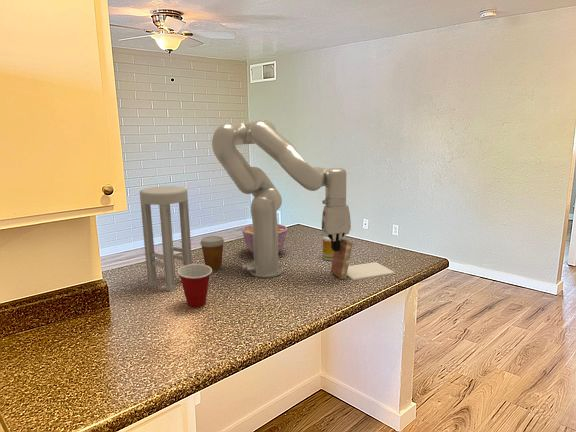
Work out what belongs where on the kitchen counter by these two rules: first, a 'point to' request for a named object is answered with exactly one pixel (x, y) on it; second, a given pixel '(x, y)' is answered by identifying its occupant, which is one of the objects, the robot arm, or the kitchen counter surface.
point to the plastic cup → (195, 283)
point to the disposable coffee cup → (212, 251)
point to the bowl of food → (249, 236)
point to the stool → (165, 231)
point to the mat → (367, 271)
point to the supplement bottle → (327, 249)
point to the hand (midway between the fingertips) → (335, 250)
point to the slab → (342, 259)
